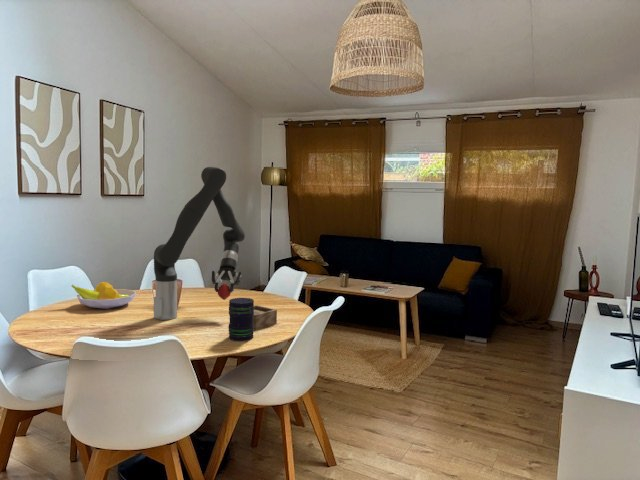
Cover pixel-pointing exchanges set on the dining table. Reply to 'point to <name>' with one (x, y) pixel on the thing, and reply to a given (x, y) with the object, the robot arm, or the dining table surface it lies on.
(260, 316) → the wooden square tray
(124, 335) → the dining table surface
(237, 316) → the storage jar
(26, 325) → the dining table surface
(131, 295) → the fruit bowl
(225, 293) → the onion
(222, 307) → the dining table surface
